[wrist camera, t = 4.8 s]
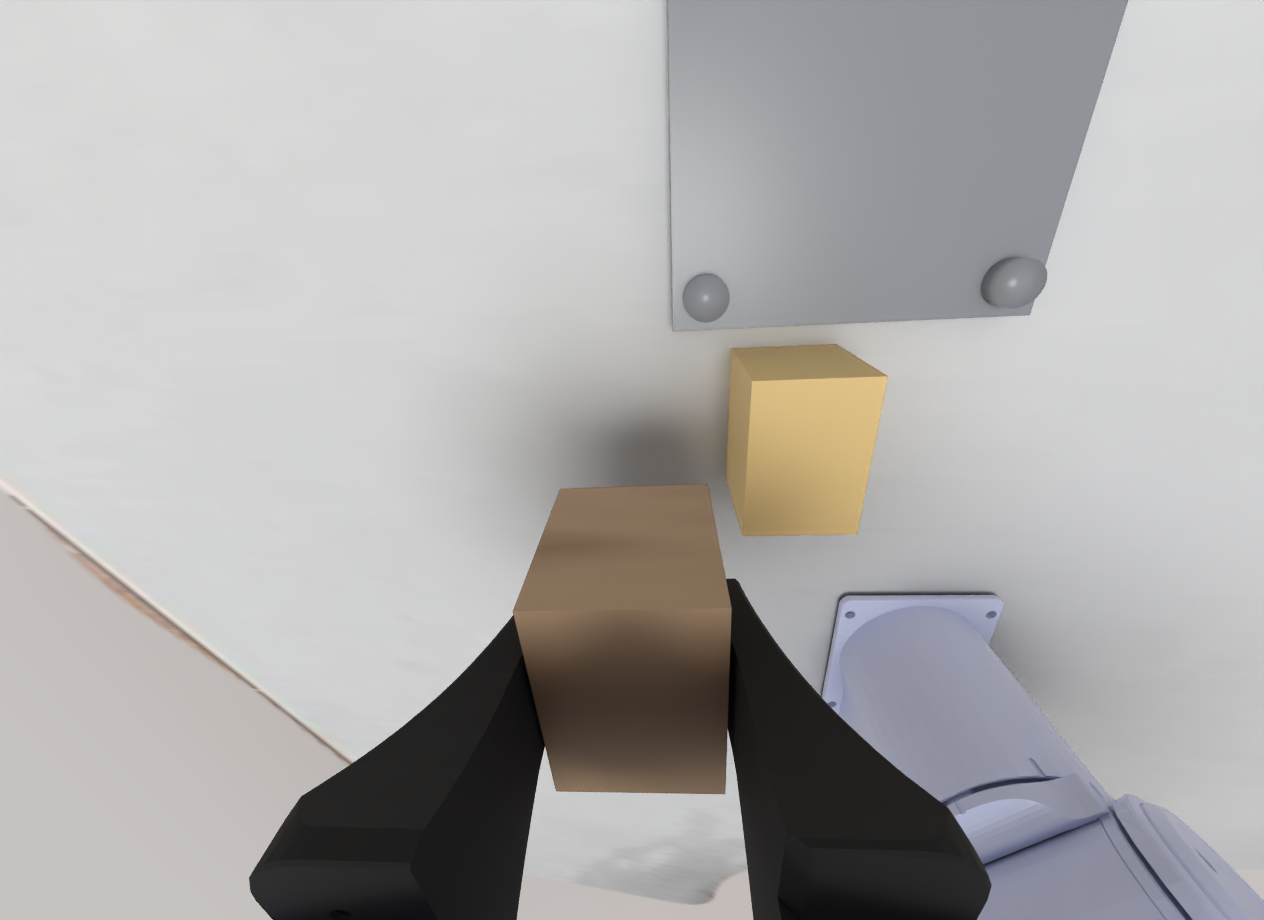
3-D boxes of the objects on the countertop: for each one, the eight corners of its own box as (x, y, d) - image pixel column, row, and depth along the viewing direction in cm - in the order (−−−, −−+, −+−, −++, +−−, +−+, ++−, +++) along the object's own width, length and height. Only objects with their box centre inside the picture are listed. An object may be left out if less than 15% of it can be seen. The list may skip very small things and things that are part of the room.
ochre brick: (817, 473, 21) (857, 534, 17) (725, 475, 22) (742, 535, 17) (835, 343, 19) (888, 376, 14) (730, 348, 19) (752, 381, 15)
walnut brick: (706, 639, 16) (725, 794, 11) (583, 640, 16) (555, 791, 12) (707, 483, 13) (731, 608, 9) (560, 488, 13) (512, 611, 9)
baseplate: (1011, 310, 18) (1046, 318, 16) (672, 326, 19) (673, 335, 17) (1146, -149, 12) (1218, -206, 11) (665, -96, 13) (667, -141, 12)
